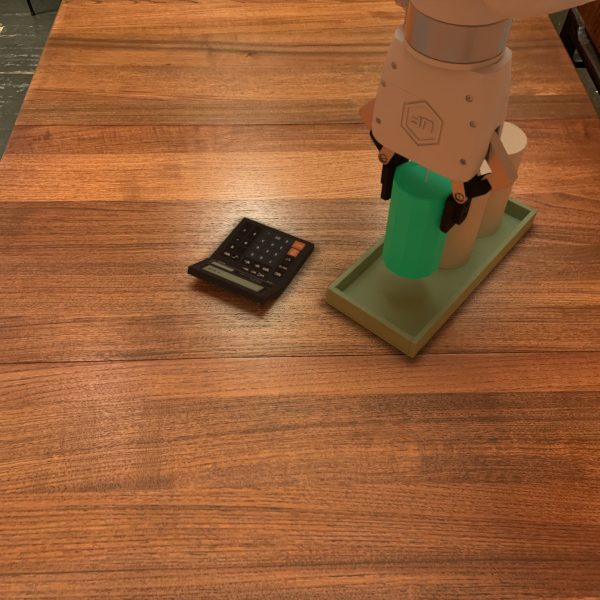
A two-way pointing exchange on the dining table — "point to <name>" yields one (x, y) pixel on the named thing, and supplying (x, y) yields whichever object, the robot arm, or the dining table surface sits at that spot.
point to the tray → (421, 286)
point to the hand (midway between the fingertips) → (421, 206)
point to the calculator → (254, 261)
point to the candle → (415, 221)
